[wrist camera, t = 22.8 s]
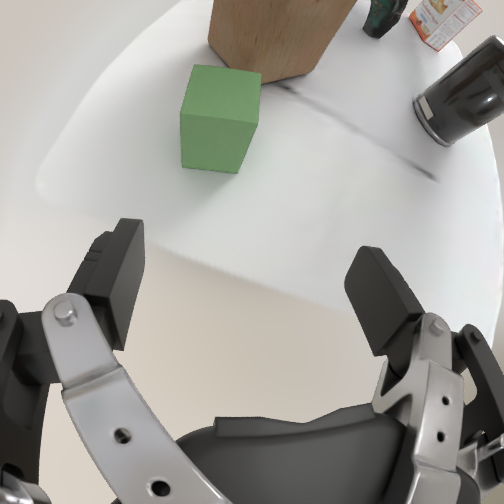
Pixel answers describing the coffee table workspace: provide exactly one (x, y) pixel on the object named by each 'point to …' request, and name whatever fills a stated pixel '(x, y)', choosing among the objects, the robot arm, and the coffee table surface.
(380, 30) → the ceramic cat
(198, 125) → the green block
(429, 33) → the cracker box
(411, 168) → the coffee table surface
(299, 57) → the wooden block
